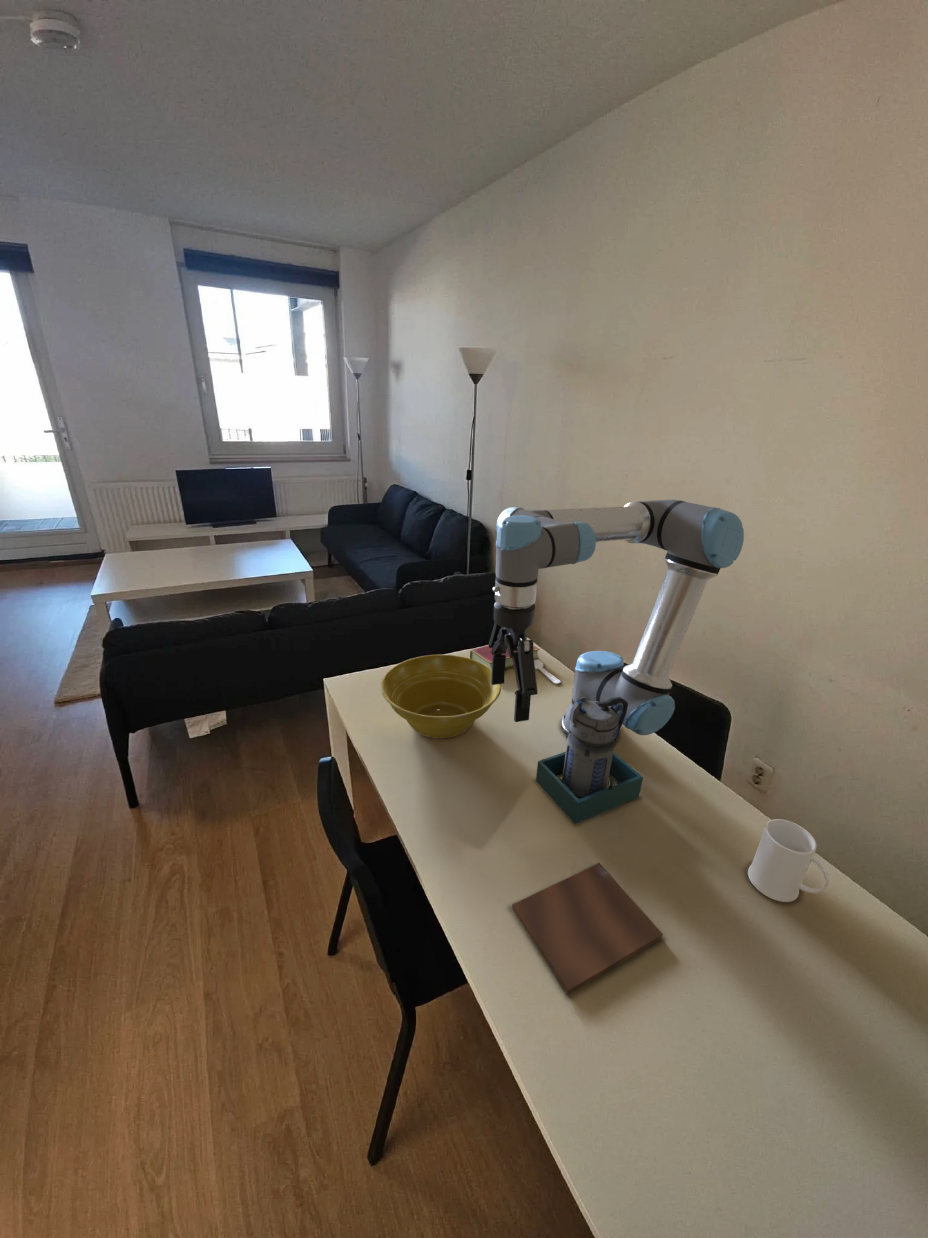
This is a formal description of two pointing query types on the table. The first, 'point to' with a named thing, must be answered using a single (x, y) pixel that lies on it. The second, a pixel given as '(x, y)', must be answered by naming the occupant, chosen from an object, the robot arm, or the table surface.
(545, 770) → the teal open box
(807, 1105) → the table surface
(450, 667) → the planter bowl
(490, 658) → the hardcover book
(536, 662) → the spoon
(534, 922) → the walnut board
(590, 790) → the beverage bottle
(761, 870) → the mug
